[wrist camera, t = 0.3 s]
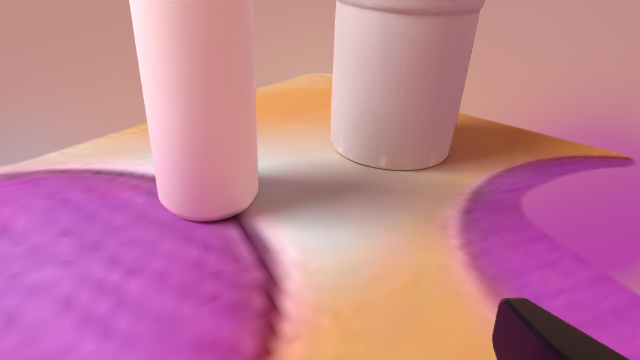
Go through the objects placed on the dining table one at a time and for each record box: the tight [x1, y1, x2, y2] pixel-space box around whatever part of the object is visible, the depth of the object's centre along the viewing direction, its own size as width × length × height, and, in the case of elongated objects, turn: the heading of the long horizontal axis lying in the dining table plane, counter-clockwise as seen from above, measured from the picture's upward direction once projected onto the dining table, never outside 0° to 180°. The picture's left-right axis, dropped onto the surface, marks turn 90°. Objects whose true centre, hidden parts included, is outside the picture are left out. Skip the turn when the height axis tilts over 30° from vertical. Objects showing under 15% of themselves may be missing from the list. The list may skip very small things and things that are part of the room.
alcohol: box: [129, 0, 259, 222], centre depth 36 cm, size 9×9×30 cm
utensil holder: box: [331, 0, 485, 170], centre depth 51 cm, size 15×15×18 cm
